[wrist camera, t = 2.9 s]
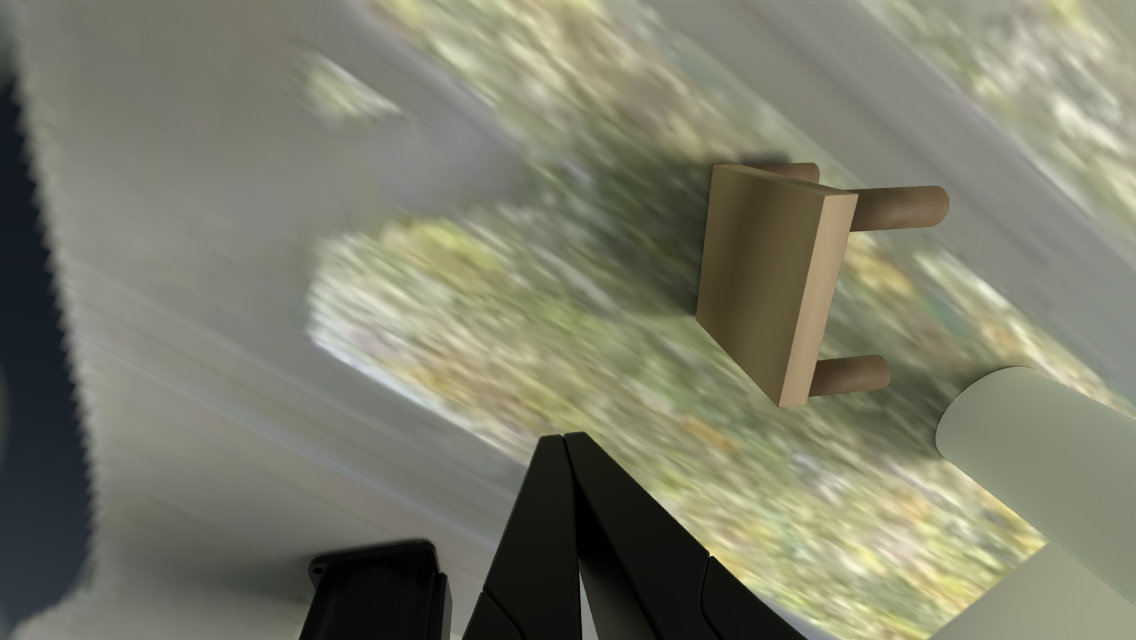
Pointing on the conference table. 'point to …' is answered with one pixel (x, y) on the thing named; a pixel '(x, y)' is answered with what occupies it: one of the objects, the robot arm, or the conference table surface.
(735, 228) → the stool
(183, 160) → the conference table surface
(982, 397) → the cylindrical container
